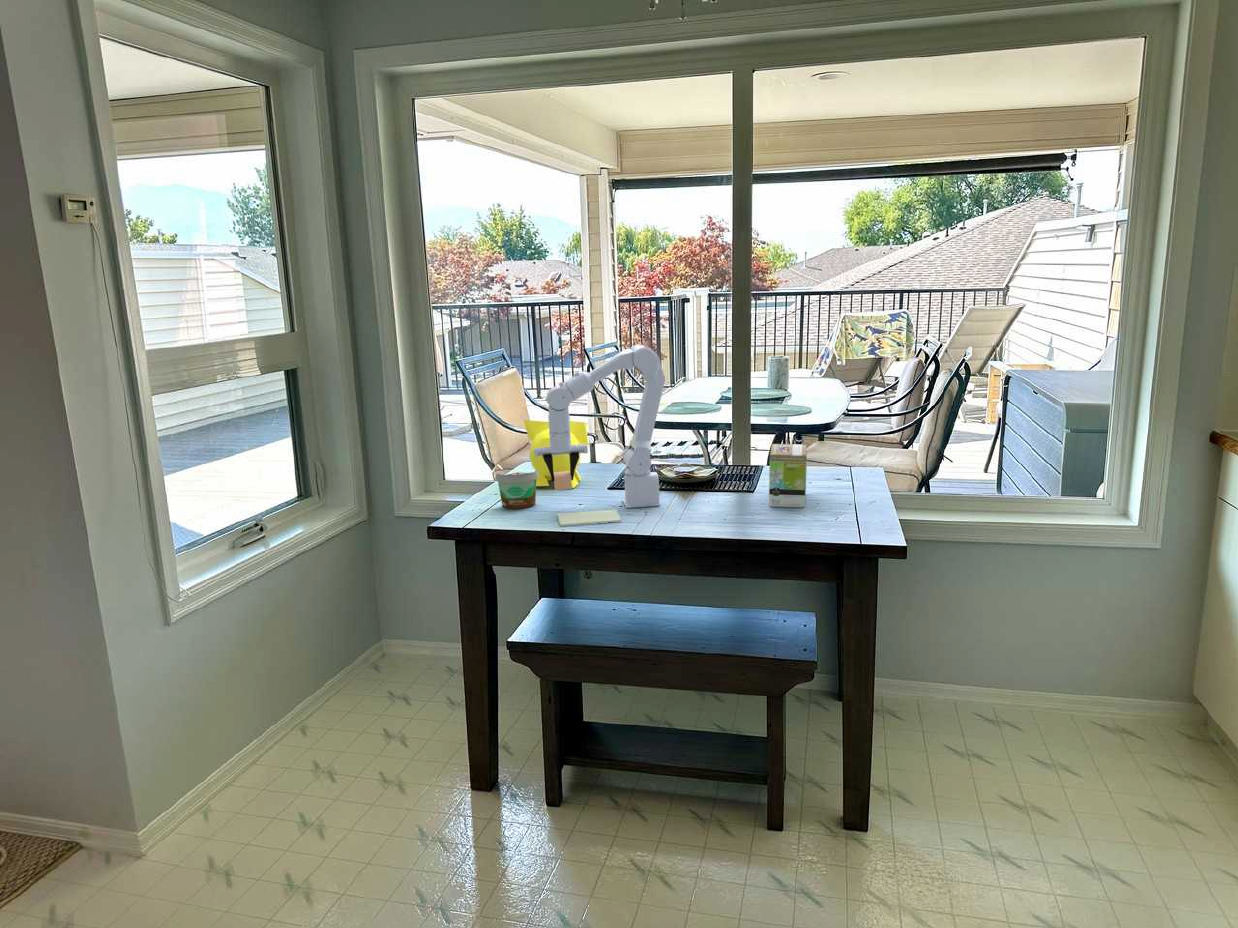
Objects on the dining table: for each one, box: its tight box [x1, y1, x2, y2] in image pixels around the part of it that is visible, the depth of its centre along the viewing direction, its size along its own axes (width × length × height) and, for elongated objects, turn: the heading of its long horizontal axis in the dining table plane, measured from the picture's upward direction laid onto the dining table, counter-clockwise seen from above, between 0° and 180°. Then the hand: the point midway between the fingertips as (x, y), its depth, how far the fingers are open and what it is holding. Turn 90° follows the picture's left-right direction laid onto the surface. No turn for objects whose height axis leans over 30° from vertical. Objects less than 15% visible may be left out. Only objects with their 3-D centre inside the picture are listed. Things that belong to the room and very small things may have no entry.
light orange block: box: [553, 471, 573, 491], centre depth 240 cm, size 6×4×4 cm
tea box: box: [768, 443, 808, 508], centre depth 242 cm, size 15×10×15 cm, turn 168°
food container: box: [494, 469, 539, 511], centre depth 245 cm, size 12×6×10 cm, turn 101°
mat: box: [557, 509, 622, 528], centre depth 233 cm, size 16×10×1 cm, turn 97°
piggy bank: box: [523, 419, 589, 489], centre depth 271 cm, size 20×20×19 cm
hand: (562, 480), depth 240 cm, fingers closed on light orange block, 4 cm apart
